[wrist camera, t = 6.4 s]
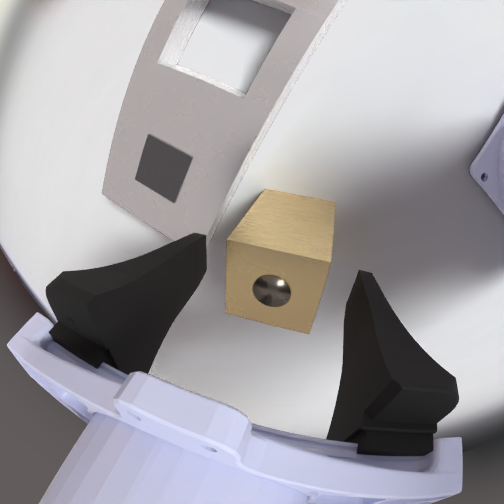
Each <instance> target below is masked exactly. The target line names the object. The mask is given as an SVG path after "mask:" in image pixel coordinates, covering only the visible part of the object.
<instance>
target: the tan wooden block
mask: <svg viewBox="0 0 504 504" xmlns="http://www.w3.org/2000/svg"><path fill="white" fill-rule="evenodd" d="M334 218H335V203H334V202H330V201H325V200H320V199H316V198H311V197H306V196H301V195H296V194H291V193H285V192H280V191H274V190H269V189H265V190H264V191H263V192H262V193H261V195H260V196H259V197H258V199H257V200H256V201H255V203H254V204H253V205H252V207H251V208H250V209H249V210H248V212H247V213H246V214H245V216H244V217H243V218H242V220H241V221H240V222H239V224H238V225H237V226H236V228H235V229H234V230H233V232H232V233H231V234H230V236H229V237H228V238H227V245H226V301H225V313H228V314H231V315H235V316H239V317H242V318H246V319H250V320H254V321H257V322H261V323H265V324H269V325H273V326H277V327H281V328H285V329H290V330H294V331H298V332H302V333H307V334H309V333H310V330H311V327H312V324H313V321H314V318H315V315H316V312H317V309H318V305H319V302H320V299H321V296H322V292H323V289H324V286H325V282H326V279H327V275H328V272H329V268H330V265H331V258H332V247H333V233H334Z"/></svg>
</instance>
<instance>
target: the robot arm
mask: <svg viewBox="0 0 504 504" xmlns="http://www.w3.org/2000/svg"><path fill="white" fill-rule="evenodd" d="M483 173H485V178H484V179H483V180H481V175H482V174H483ZM470 174H471V175H472V177H473V178H474V179H475V180H476V181H477V183H478V184H479V185H480V186H481V187H482V188H483V190H484V191H485V192H486V193H487V194H488V196H489V197H490V198H491V199H492V201H493V202H494V203H495V204H496V206H497V207H498V208H499V210H500V211H501V212H502V214H503V215H504V114H503V115H502V117H501V119H500V121H499V122H498V124H497V126H496V127H495V129H494V131H493V132H492V134H491V135H490V137H489V139H488V140H487V142H486V143H485V145H484V146H483V148H482V149H481V151H480V152H479V154H478V155H477V157H476V158H475V160H474V161H473V163H472V164H471V166H470ZM206 270H207V261H206V235H204V234H199V233H192V234H189V235H187V236H185V237H183V238H180V239H178V240H176V241H174V242H172V243H170V244H168V245H165V246H163V247H161V248H159V249H156V250H154V251H152V252H149V253H147V254H145V255H142V256H139V257H137V258H134V259H131V260H128V261H124V262H121V263H117V264H113V265H109V266H105V267H100V268H94V269H87V270H78V271H63V272H62V273H61V274H60V275H59V276H58V277H56V278H55V279H54V280H53V281H52V282H51V283H50V284H49V285H48V286H47V287H46V296H47V299H48V302H49V304H50V306H51V308H52V310H53V312H54V314H55V316H56V318H57V320H58V322H57V323H56V324H55V325H53V323H52V322H51V321H50V320H48V319H47V318H45V317H44V316H42V315H41V314H39V313H36V314H35V315H34V316H33V317H32V318H31V319H30V320H29V321H28V322H27V323H26V324H25V325H24V326H23V328H22V329H21V330H20V331H19V332H18V333H17V334H16V335H15V336H14V337H13V338H12V339H11V340H10V342H9V343H8V344H7V346H8V348H9V349H10V351H11V352H12V353H13V355H14V356H15V357H16V358H17V360H18V361H19V362H20V364H21V365H22V366H23V368H24V369H25V370H26V371H27V372H28V374H29V375H30V376H31V377H32V378H33V379H34V380H35V381H37V382H38V383H39V384H40V385H41V386H42V387H43V388H44V389H45V390H47V391H48V392H49V393H50V394H51V395H52V396H54V397H55V398H56V399H57V400H58V401H59V402H61V403H62V404H63V405H64V406H66V407H67V408H68V409H69V410H71V411H72V412H73V413H74V414H76V415H77V416H78V417H80V418H81V419H82V420H84V421H85V422H86V423H88V425H87V427H86V428H85V430H84V431H83V433H82V435H81V436H80V438H79V439H78V441H77V442H76V444H75V445H74V447H73V448H72V450H71V452H70V453H69V455H68V456H67V458H66V460H65V462H64V463H63V464H62V466H61V468H60V469H59V471H58V473H57V474H56V476H55V477H54V479H53V481H52V482H51V484H50V486H49V487H48V489H47V491H46V493H45V495H44V496H43V498H42V499H41V501H40V503H39V504H429V503H432V502H435V501H439V500H441V499H444V498H447V497H450V496H453V495H455V494H458V493H460V492H461V491H462V438H460V437H455V438H440V439H436V440H434V441H433V433H436V432H437V423H438V422H439V421H440V420H441V419H443V418H444V417H445V416H446V415H448V414H449V413H450V412H451V411H452V410H453V409H454V408H455V407H456V405H457V404H458V402H459V395H458V388H457V382H456V378H455V377H454V376H453V375H451V374H450V373H449V372H448V371H446V370H445V369H444V368H442V367H441V366H440V365H439V364H438V363H437V362H436V361H435V360H433V359H432V358H431V357H430V356H429V355H428V354H427V353H426V352H425V351H424V350H423V349H422V348H421V346H420V345H419V344H418V343H417V342H416V341H415V340H414V339H413V337H412V336H411V335H410V334H409V332H408V331H407V330H406V328H405V327H404V326H403V324H402V323H401V322H400V320H399V319H398V317H397V316H396V314H395V313H394V311H393V310H392V308H391V306H390V305H389V303H388V301H387V300H386V298H385V296H384V294H383V292H382V291H381V289H380V287H379V285H378V283H377V282H376V280H375V278H374V276H373V274H372V273H369V272H365V271H361V270H359V272H358V275H357V277H356V280H355V283H354V285H353V288H352V291H351V293H350V296H349V298H348V301H347V303H346V310H345V318H344V339H343V366H342V374H341V380H340V386H339V391H338V396H337V401H336V405H335V409H334V413H333V417H332V421H331V425H330V428H329V432H328V435H327V439H320V438H315V437H309V436H304V435H299V434H294V433H289V432H285V431H280V430H276V429H272V428H268V427H264V426H260V425H256V424H253V423H251V422H250V420H249V418H248V417H247V416H246V415H245V414H243V413H242V412H241V411H239V410H238V409H236V408H234V407H232V406H229V405H227V404H225V403H222V402H220V401H217V400H214V399H211V398H208V397H205V396H202V395H200V394H197V393H194V392H192V391H189V390H186V389H184V388H181V387H179V386H176V385H174V384H171V383H169V382H167V381H164V380H162V379H160V378H157V377H155V376H153V375H150V374H148V373H149V370H150V368H151V365H152V363H153V361H154V359H155V356H156V354H157V352H158V350H159V348H160V346H161V344H162V342H163V340H164V338H165V336H166V334H167V332H168V330H169V328H170V326H171V325H172V323H173V321H174V320H175V318H176V317H177V315H178V314H179V313H180V311H181V310H182V308H183V307H184V306H185V304H186V303H187V301H188V300H189V299H190V297H191V296H192V294H193V293H194V292H195V290H196V289H197V287H198V286H199V284H200V282H201V280H202V278H203V276H204V274H205V272H206Z"/></svg>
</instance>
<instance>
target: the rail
mask: <svg viewBox="0 0 504 504" xmlns="http://www.w3.org/2000/svg"><path fill="white" fill-rule="evenodd" d="M209 1H210V0H165V1H164V3H163V5H162V7H161V9H160V11H159V13H158V15H157V17H156V19H155V21H154V23H153V25H152V27H151V29H150V32H149V34H148V36H147V38H146V41H145V43H144V45H143V48H142V50H141V53H140V55H139V58H138V60H137V63H136V65H135V68H134V71H133V74H132V76H131V79H130V82H129V85H128V88H127V91H126V94H125V97H124V101H123V104H122V107H121V111H120V114H119V118H118V121H117V125H116V129H115V133H114V136H113V141H112V145H111V149H110V154H109V158H108V163H107V168H106V173H105V178H104V184H103V190H102V194H103V195H105V196H106V197H108V198H109V199H111V200H112V201H114V202H115V203H117V204H118V205H120V206H121V207H123V208H124V209H126V210H127V211H129V212H130V213H132V214H133V215H135V216H136V217H138V218H139V219H141V220H142V221H144V222H145V223H147V224H148V225H150V226H151V227H153V228H154V229H156V230H158V231H159V232H161V233H162V234H164V235H165V236H167V237H168V238H170V239H172V240H173V241H176V240H178V239H180V238H183V237H185V236H187V235H189V234H192V233H199V234H204V235H206V245H207V244H208V242H209V241H210V240H211V238H212V236H213V234H214V232H215V230H216V228H217V226H218V224H219V222H220V220H221V218H222V216H223V214H224V212H225V210H226V208H227V206H228V204H229V202H230V200H231V198H232V197H233V195H234V193H235V191H236V189H237V187H238V185H239V183H240V181H241V179H242V177H243V176H244V174H245V172H246V170H247V168H248V166H249V164H250V162H251V161H252V159H253V157H254V155H255V153H256V151H257V149H258V148H259V146H260V144H261V142H262V140H263V139H264V137H265V135H266V133H267V131H268V130H269V128H270V126H271V124H272V122H273V121H274V119H275V117H276V115H277V114H278V112H279V110H280V108H281V107H282V105H283V103H284V101H285V100H286V98H287V96H288V94H289V93H290V91H291V89H292V88H293V86H294V84H295V83H296V81H297V79H298V78H299V76H300V74H301V73H302V71H303V69H304V68H305V66H306V64H307V63H308V61H309V59H310V58H311V56H312V54H313V53H314V51H315V50H316V48H317V46H318V45H319V43H320V42H321V40H322V38H323V37H324V35H325V34H326V32H327V31H328V29H329V27H330V26H331V24H332V23H333V21H334V20H335V18H336V17H337V15H338V14H339V12H340V11H341V9H342V8H343V6H344V5H345V3H346V2H347V0H252V1H255V2H258V3H261V4H264V5H267V6H270V7H273V8H275V9H278V10H281V11H283V12H286V13H288V14H291V17H290V19H289V20H288V22H287V23H286V25H285V27H284V28H283V30H282V31H281V33H280V35H279V36H278V38H277V40H276V41H275V43H274V45H273V47H272V48H271V50H270V52H269V53H268V55H267V57H266V59H265V60H264V62H263V64H262V66H261V68H260V69H259V71H258V73H257V75H256V77H255V78H254V80H253V82H252V84H251V86H250V88H249V90H248V92H247V93H246V94H245V93H243V92H241V91H239V90H237V89H235V88H233V87H230V86H228V85H226V84H224V83H222V82H219V81H217V80H215V79H212V78H210V77H208V76H205V75H203V74H200V73H198V72H195V71H193V70H190V69H188V68H185V67H182V66H180V65H177V64H178V62H179V60H180V57H181V55H182V53H183V51H184V49H185V47H186V45H187V43H188V40H189V38H190V36H191V34H192V32H193V30H194V29H195V27H196V25H197V23H198V21H199V19H200V17H201V15H202V13H203V12H204V10H205V8H206V6H207V5H208V3H209Z"/></svg>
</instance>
